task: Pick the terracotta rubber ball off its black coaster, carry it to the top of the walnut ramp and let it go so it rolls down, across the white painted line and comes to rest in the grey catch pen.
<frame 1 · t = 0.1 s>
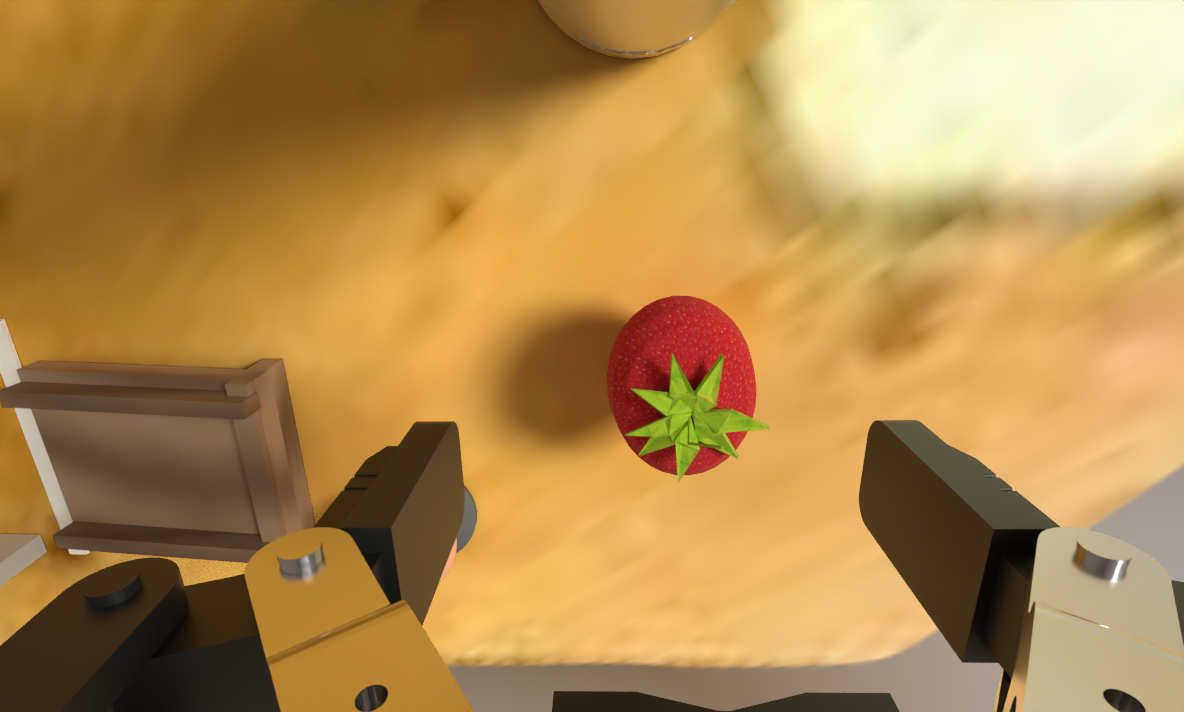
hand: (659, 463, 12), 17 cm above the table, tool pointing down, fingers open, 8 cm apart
walnut ramp: (189, 445, 31), on the table
strawberry: (666, 340, 29), on the table
painted line: (41, 444, 32), on the table
coaster: (422, 511, 33), on the table
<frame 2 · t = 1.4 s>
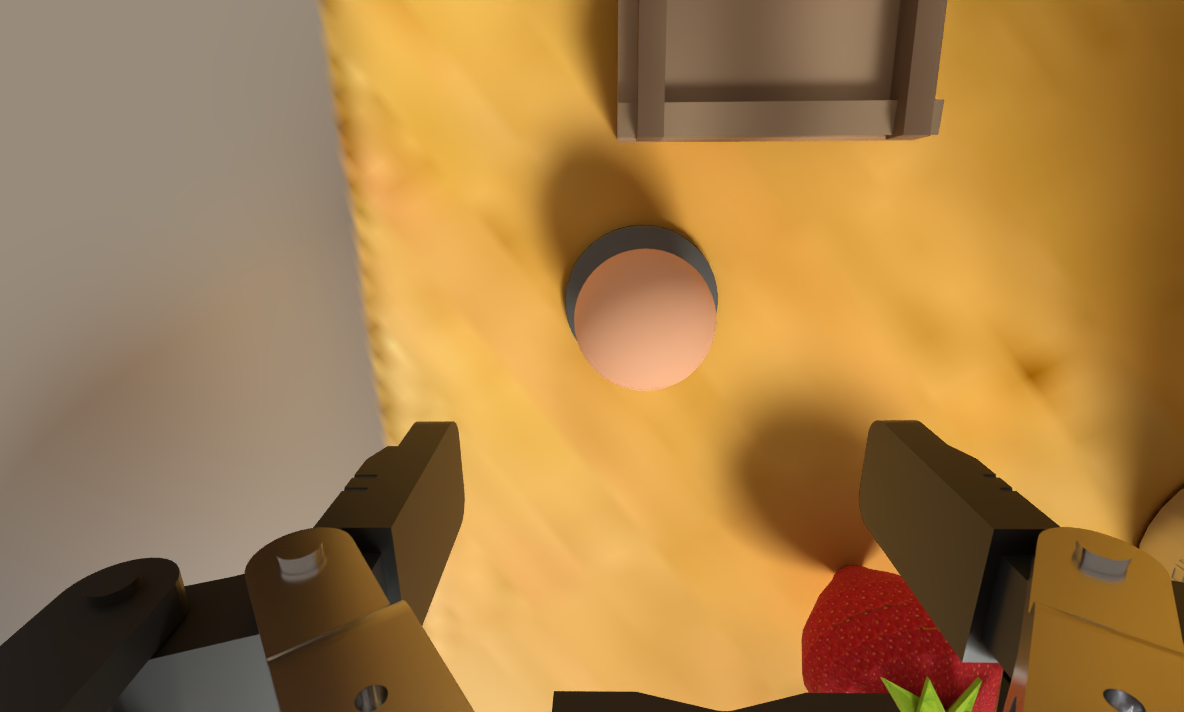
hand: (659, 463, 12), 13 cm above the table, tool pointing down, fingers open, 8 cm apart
strawberry: (848, 570, 28), on the table
coaster: (640, 301, 24), on the table
rubber ball: (644, 320, 21), point 3 cm above the table, touching coaster
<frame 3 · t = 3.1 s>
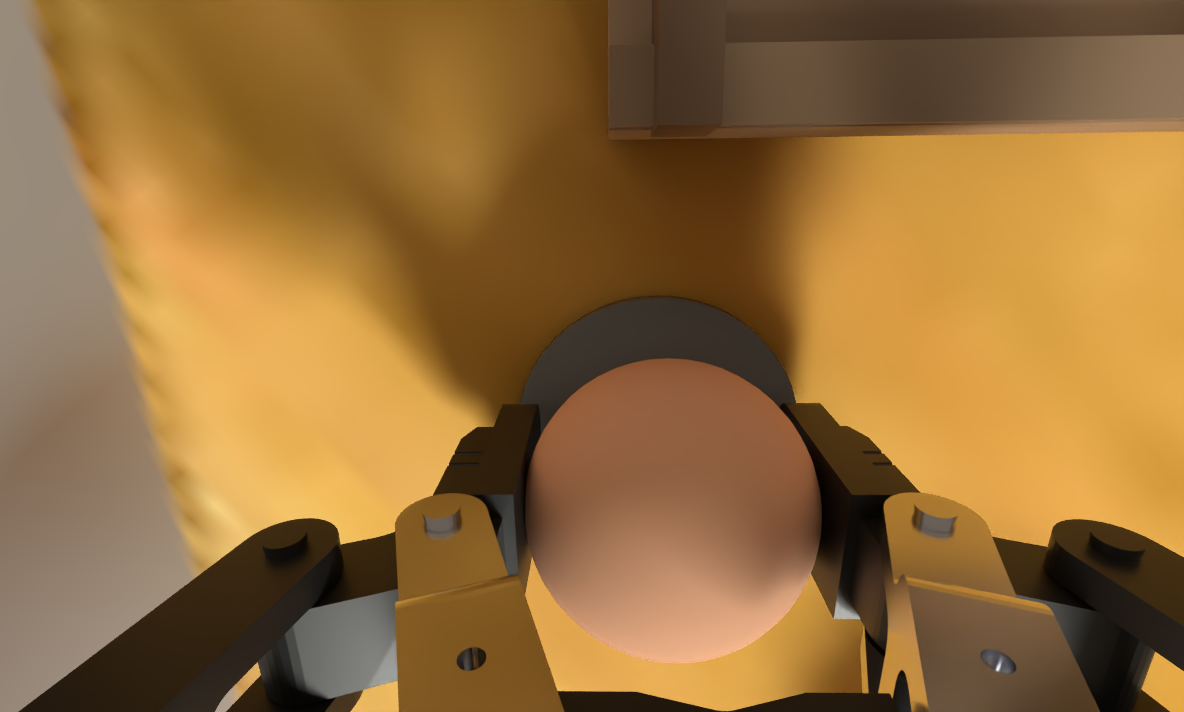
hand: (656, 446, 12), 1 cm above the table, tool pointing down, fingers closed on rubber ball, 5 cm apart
coaster: (654, 429, 13), on the table
rubber ball: (668, 501, 10), point 3 cm above the table, touching coaster, gripper
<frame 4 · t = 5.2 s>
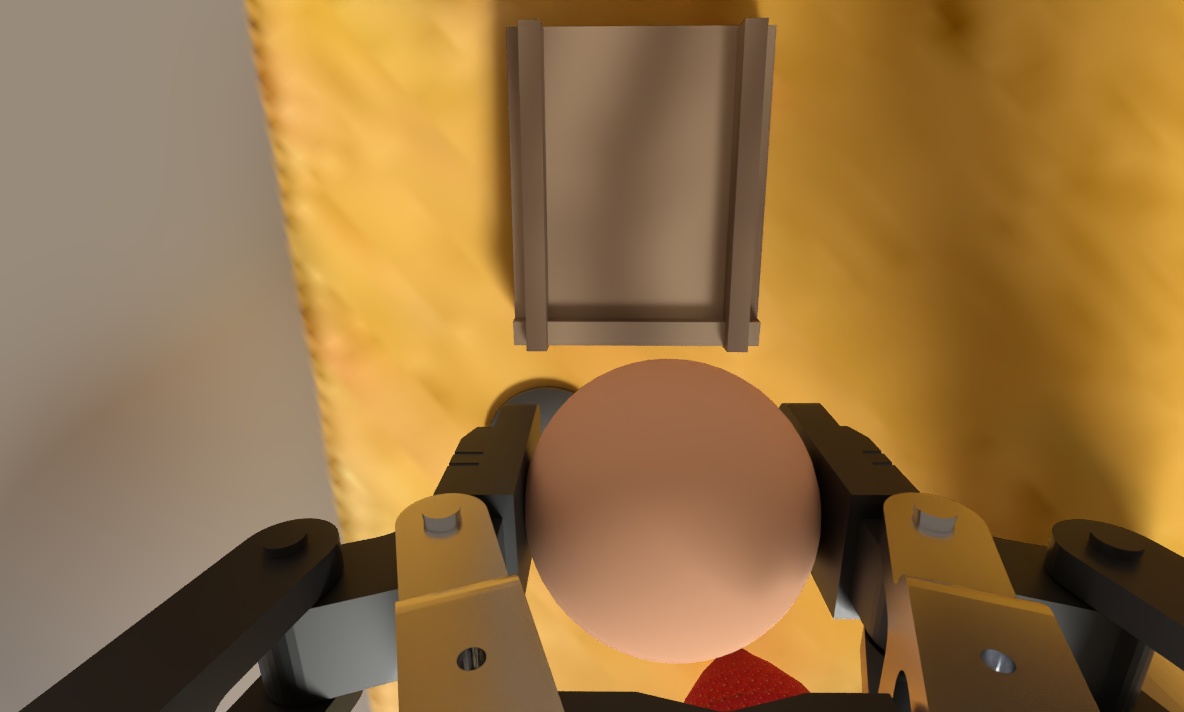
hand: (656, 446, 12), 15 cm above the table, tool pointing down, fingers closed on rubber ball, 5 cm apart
walnut ramp: (635, 192, 25), on the table
strawberry: (731, 649, 34), on the table
coaster: (549, 442, 29), on the table
rubber ball: (667, 501, 10), point 17 cm above the table, touching gripper
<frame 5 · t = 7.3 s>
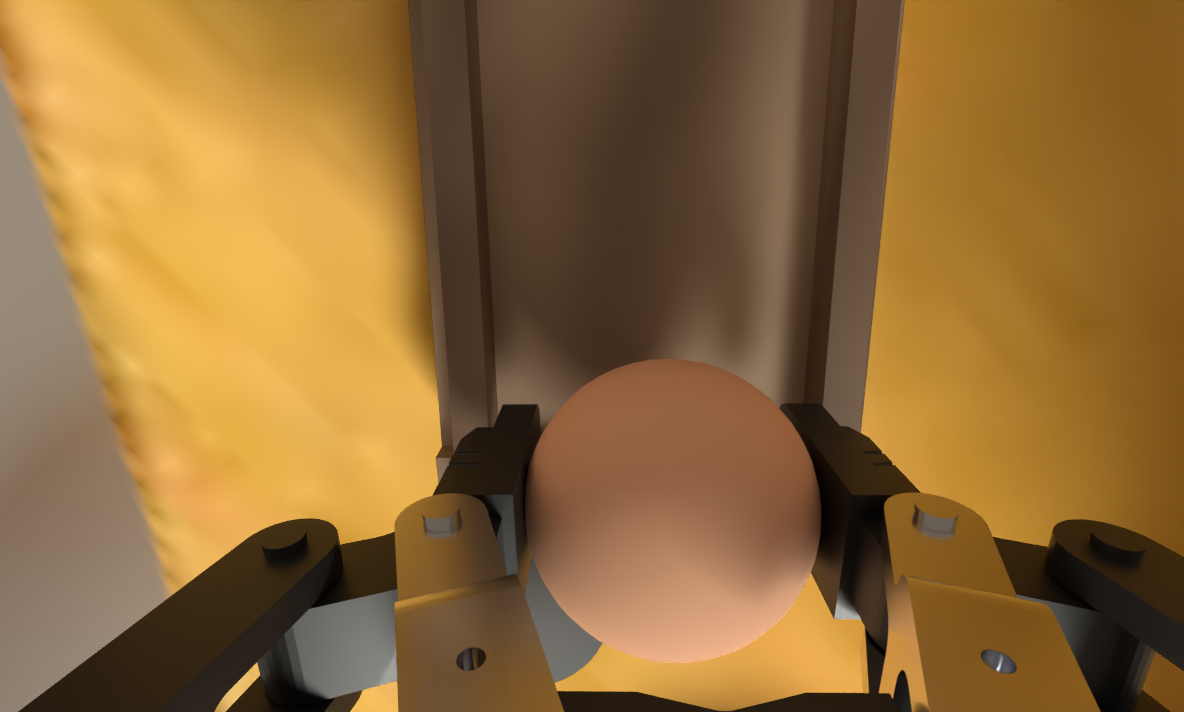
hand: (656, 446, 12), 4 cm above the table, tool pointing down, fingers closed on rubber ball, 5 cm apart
walnut ramp: (645, 225, 15), on the table
coaster: (514, 606, 19), on the table
rubber ball: (668, 501, 10), point 6 cm above the table, touching gripper
when the fingers open (4 cm above the table, at t = 7.3 s): rubber ball drops 4 cm and tips over, point 2 cm above the table.
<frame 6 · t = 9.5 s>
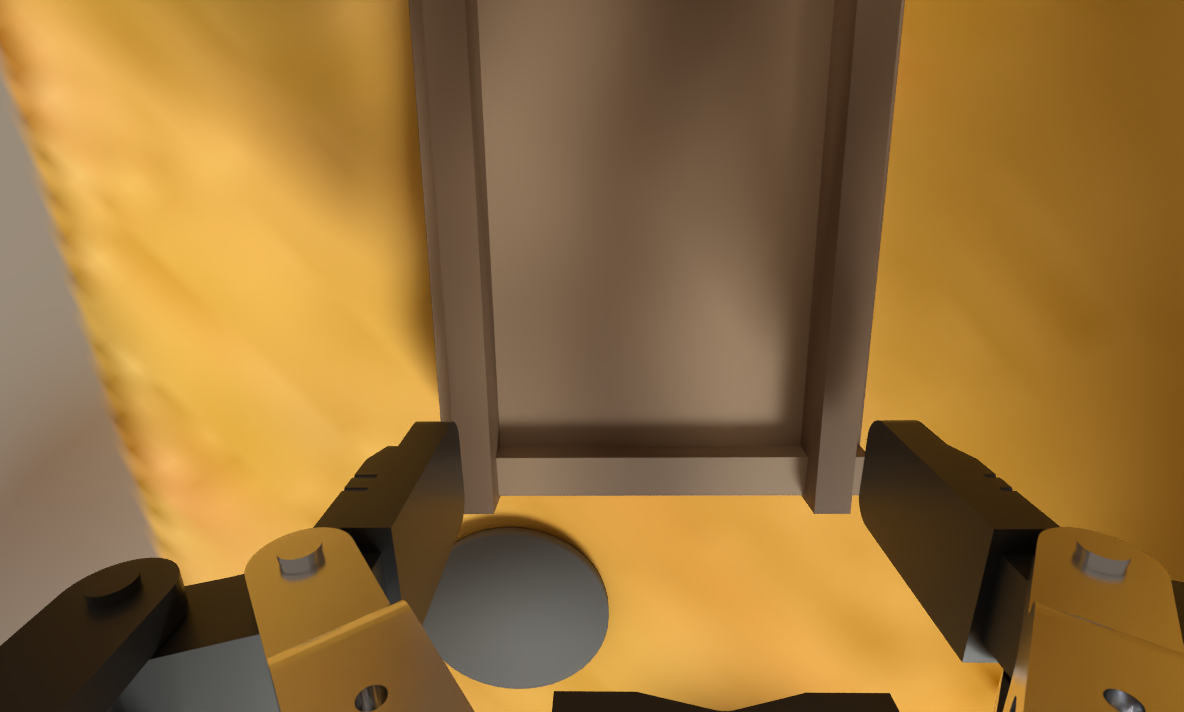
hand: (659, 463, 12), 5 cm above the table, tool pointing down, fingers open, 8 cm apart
walnut ramp: (645, 226, 15), on the table
coaster: (515, 606, 19), on the table
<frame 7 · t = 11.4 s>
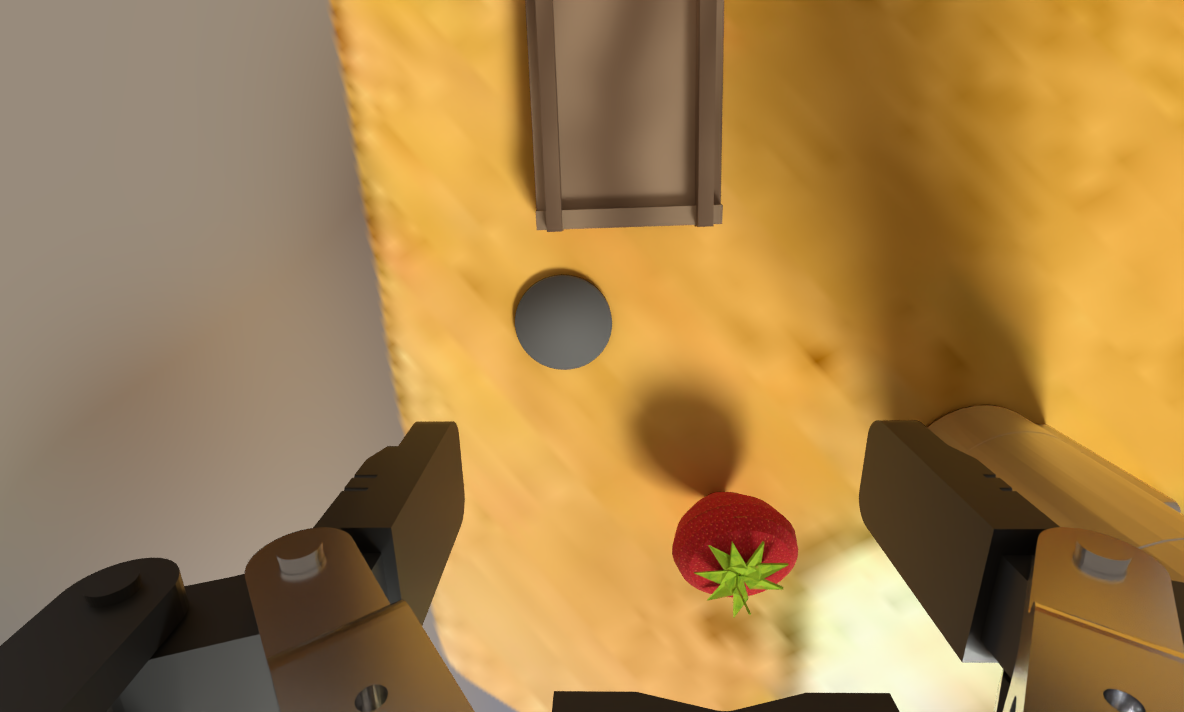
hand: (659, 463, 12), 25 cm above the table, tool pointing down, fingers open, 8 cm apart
walnut ramp: (624, 113, 33), on the table
strawberry: (716, 496, 41), on the table
coaster: (563, 322, 37), on the table
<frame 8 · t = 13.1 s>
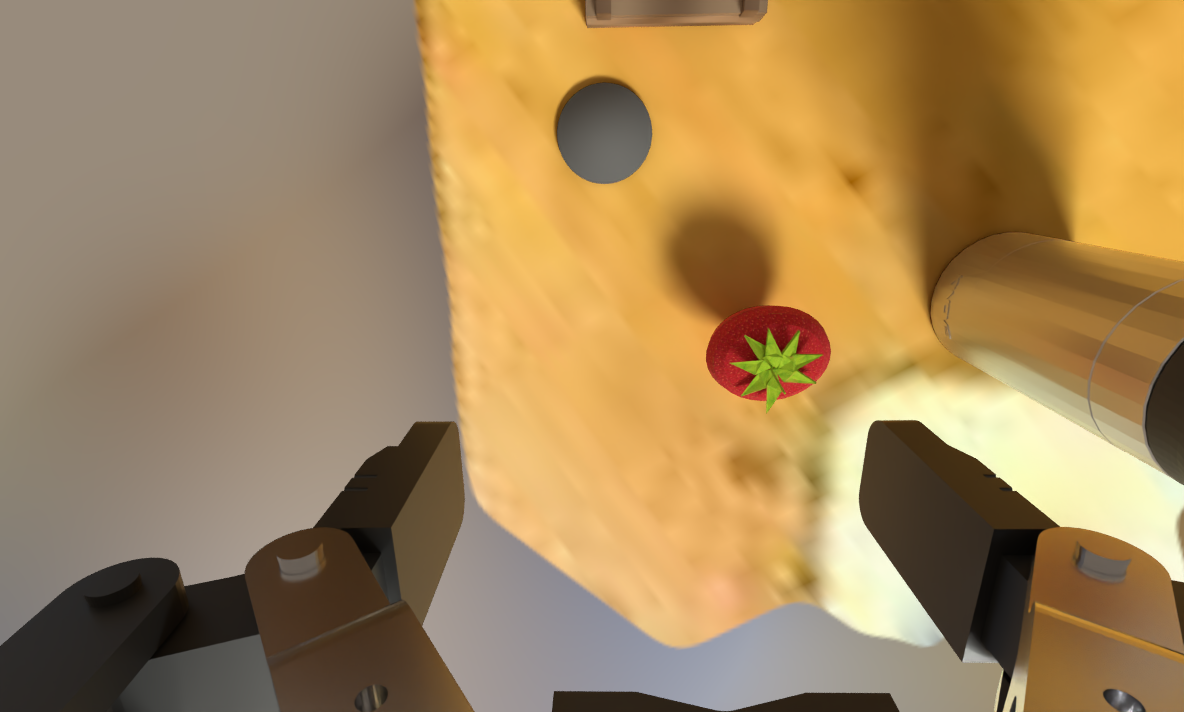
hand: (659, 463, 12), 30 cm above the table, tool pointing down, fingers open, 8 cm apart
strawberry: (746, 328, 42), on the table
coaster: (604, 134, 38), on the table
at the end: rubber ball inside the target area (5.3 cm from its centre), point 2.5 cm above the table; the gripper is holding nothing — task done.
